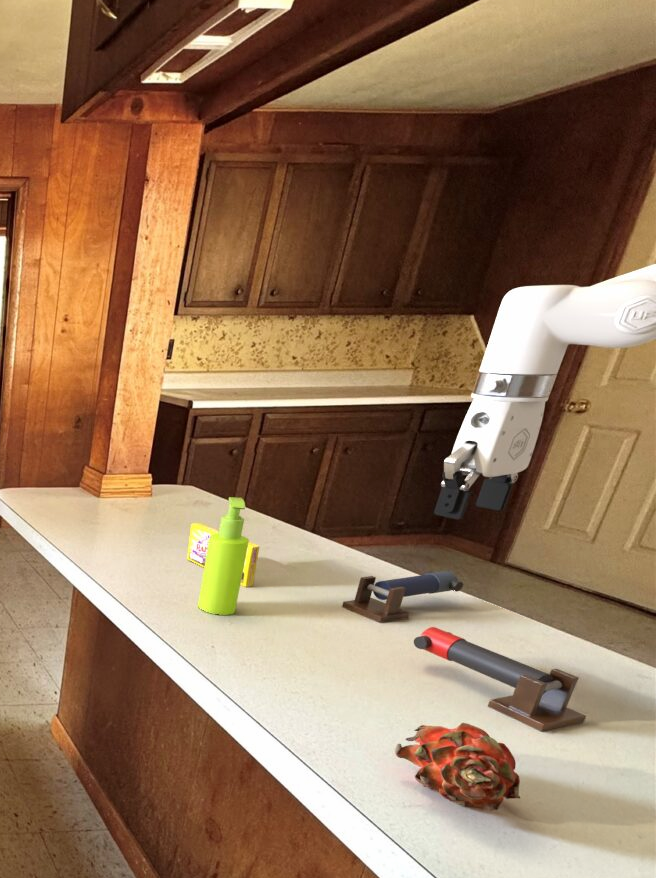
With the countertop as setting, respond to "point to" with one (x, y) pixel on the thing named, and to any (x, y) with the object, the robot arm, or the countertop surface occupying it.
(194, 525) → the candy box
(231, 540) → the soap dispenser
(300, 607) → the countertop surface
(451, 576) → the navy marker
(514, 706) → the holder
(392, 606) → the holder
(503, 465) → the robot arm
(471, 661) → the red marker
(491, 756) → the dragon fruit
